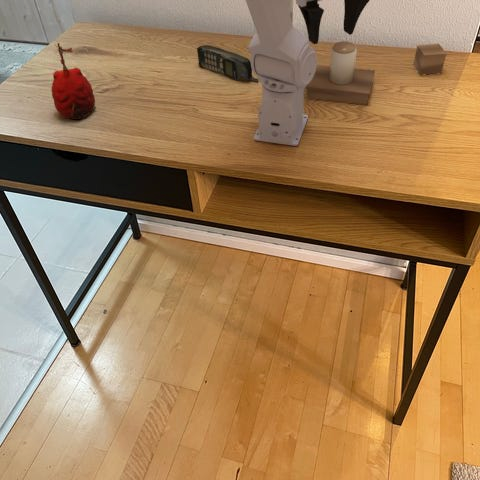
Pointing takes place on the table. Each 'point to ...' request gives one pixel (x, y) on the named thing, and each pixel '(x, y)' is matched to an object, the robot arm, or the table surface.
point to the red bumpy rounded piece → (71, 91)
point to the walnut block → (429, 59)
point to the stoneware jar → (342, 63)
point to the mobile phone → (225, 63)
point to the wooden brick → (340, 86)
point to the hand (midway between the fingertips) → (330, 37)
